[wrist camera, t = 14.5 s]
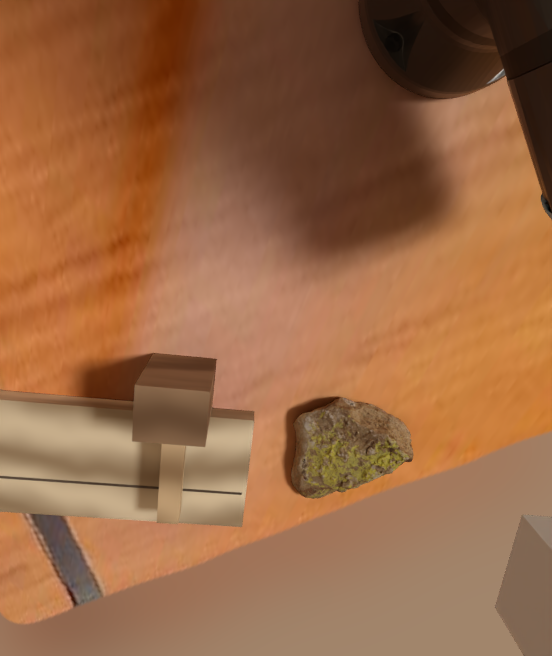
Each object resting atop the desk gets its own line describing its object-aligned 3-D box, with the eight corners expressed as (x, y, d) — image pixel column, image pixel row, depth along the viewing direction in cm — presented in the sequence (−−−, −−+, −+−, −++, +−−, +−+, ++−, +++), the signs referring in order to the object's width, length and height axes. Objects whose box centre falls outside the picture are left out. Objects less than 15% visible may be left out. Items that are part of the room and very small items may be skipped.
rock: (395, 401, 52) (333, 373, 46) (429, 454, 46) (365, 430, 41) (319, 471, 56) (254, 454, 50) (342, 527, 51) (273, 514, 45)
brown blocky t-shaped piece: (153, 352, 46) (134, 385, 38) (216, 358, 47) (210, 391, 39) (145, 489, 50) (127, 543, 42) (204, 493, 50) (196, 547, 43)
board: (-40, 386, 46) (-53, 395, 44) (254, 411, 48) (254, 420, 46) (-33, 496, 49) (-45, 509, 47) (242, 514, 51) (241, 527, 49)
